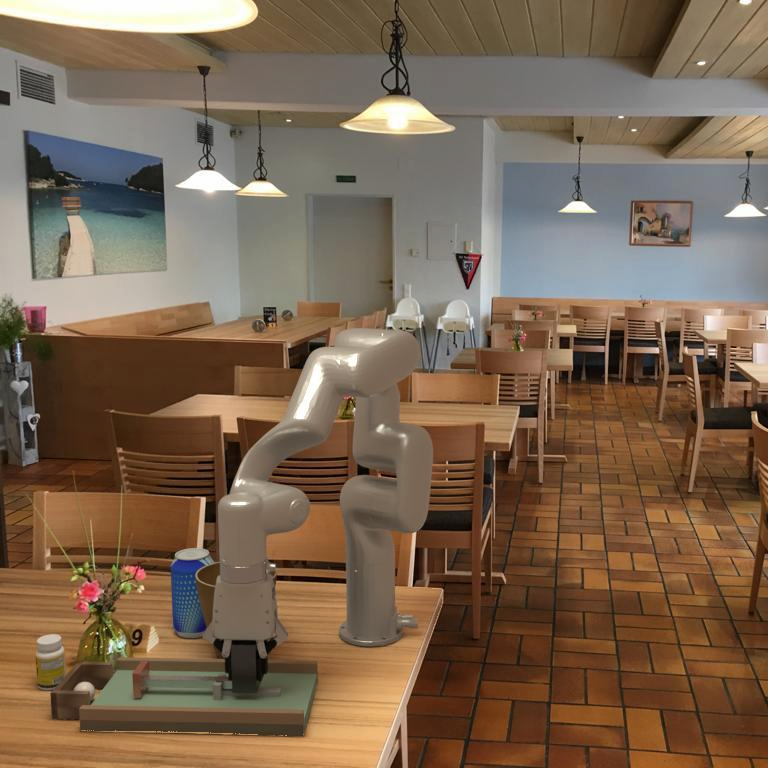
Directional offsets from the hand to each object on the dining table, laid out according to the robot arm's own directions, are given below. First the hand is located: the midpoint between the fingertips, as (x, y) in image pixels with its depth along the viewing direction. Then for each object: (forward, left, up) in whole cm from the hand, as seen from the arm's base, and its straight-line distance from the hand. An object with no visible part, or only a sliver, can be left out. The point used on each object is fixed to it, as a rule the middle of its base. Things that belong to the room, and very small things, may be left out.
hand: (246, 676), depth 144 cm
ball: (+27, 0, -3) cm, 28 cm away
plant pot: (+6, -19, -5) cm, 21 cm away
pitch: (+7, 0, -5) cm, 9 cm away
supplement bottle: (+36, -6, -5) cm, 36 cm away
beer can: (+17, -29, -5) cm, 34 cm away
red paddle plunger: (+8, 0, -3) cm, 9 cm away
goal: (+28, 0, -5) cm, 28 cm away
